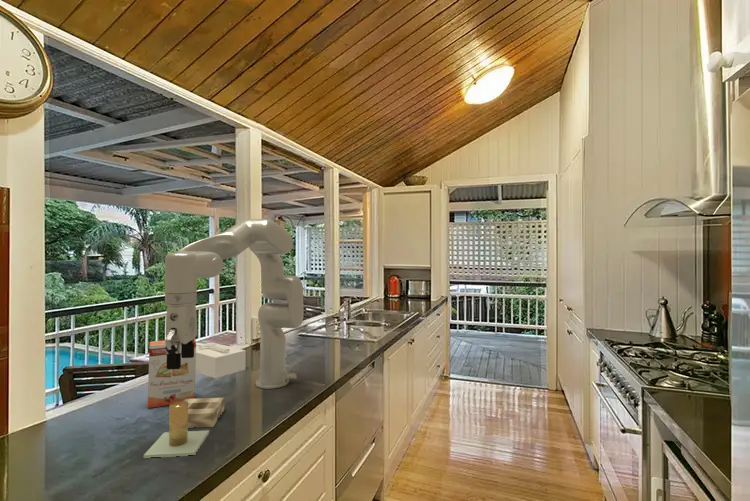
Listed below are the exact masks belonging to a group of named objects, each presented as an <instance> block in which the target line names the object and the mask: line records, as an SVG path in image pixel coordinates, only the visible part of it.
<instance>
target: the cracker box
mask: <svg viewBox="0 0 750 501" xmlns="http://www.w3.org/2000/svg"><path fill="white" fill-rule="evenodd" d="M196 340H197V339H196V337H195V338H194V357H193V358H182V357H181V368H180V369H167V354H166V343H165V340H154V341H150V342H149V346H148V347H149V350H148V352H149V354H148V380H147V381H148V382H147V383H148V384H147V387H148V388H147V389H148V390H147V409H152V408H159V407H167V406H170V404H172V403H174V402H179V401H184V400H185V399H196V398H195V397H196V395H195V394H196V372H195V368H196V346H197V341H196ZM175 347H177V345H175ZM179 353H181V347H180V351H179Z"/></svg>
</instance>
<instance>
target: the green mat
mask: <svg viewBox="0 0 750 501" xmlns="http://www.w3.org/2000/svg"><path fill="white" fill-rule="evenodd" d="M209 434H210V430H209V429H208V430H191V431H190V430H188V441H187V442H186V443H185V444H183V445H180V446H170V445H169V431H166V432H162V434H161V435H160V436H159V438H157V439H156V441H155V442H154V443H153V444H152V445H151V446H150V448H148V449H147V451H146V452H145V453H144V454H143V459H152V458H151V457H161V458H176V456H180V457H189V456H188V455H195V456H196V454H197V453H198V451H199V450H200V448H201V447H200V446H202V445H203V443H204V442H205V440H206V439H207V437H208V436H209ZM198 449H199V450H198ZM196 452H197V453H196Z"/></svg>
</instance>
